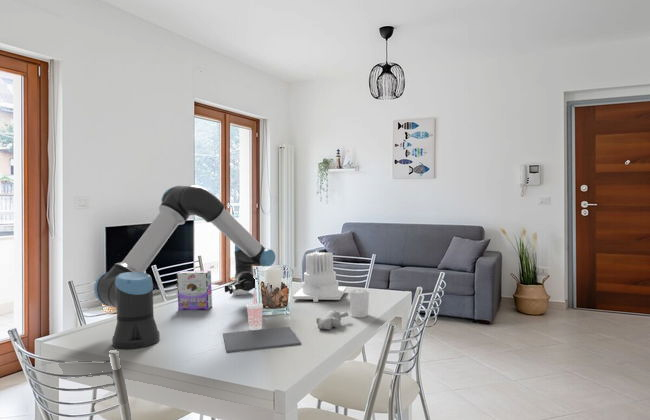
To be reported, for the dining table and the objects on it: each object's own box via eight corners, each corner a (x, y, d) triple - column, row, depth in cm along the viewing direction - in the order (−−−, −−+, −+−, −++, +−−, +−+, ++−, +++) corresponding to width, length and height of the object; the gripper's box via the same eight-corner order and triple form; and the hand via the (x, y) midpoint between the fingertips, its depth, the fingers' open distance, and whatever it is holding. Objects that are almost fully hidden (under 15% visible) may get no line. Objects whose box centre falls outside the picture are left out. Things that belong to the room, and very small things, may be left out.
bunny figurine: (310, 319, 172) (328, 305, 185) (311, 332, 172) (329, 317, 186) (334, 321, 167) (350, 307, 181) (335, 335, 168) (351, 320, 181)
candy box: (212, 306, 211) (211, 270, 211) (208, 310, 206) (206, 272, 205) (183, 306, 213) (181, 270, 212) (177, 310, 207) (176, 272, 206)
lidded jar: (257, 292, 240) (256, 274, 240) (242, 296, 231) (242, 277, 231) (241, 290, 246) (240, 272, 245) (226, 294, 237) (226, 276, 236)
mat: (301, 344, 155) (301, 342, 155) (226, 352, 149) (226, 350, 149) (289, 328, 174) (289, 326, 174) (223, 334, 168) (222, 333, 168)
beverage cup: (266, 326, 177) (265, 289, 177) (259, 331, 171) (258, 293, 171) (251, 325, 179) (250, 289, 178) (244, 330, 173) (243, 292, 172)
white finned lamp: (339, 303, 213) (337, 256, 212) (292, 302, 216) (290, 256, 216) (346, 291, 237) (345, 249, 236) (304, 291, 241) (302, 249, 240)
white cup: (368, 312, 194) (367, 288, 194) (370, 317, 186) (370, 292, 186) (349, 313, 194) (348, 289, 193) (350, 318, 186) (350, 293, 185)
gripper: (275, 286, 208) (284, 297, 188) (217, 292, 202) (220, 303, 181) (274, 270, 208) (283, 278, 188) (216, 274, 201) (219, 283, 181)
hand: (252, 290), depth 184 cm, fingers open, 13 cm apart
